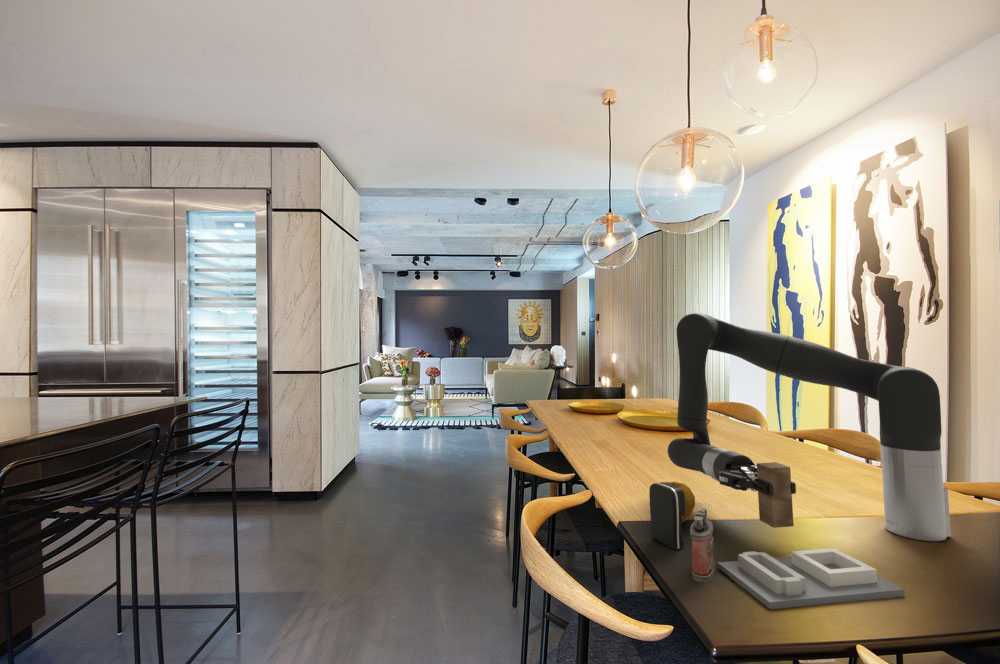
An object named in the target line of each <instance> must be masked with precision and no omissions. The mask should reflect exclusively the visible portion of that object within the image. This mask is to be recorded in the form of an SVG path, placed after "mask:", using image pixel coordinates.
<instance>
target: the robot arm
mask: <svg viewBox="0 0 1000 664" xmlns="http://www.w3.org/2000/svg"><path fill="white" fill-rule="evenodd" d="M676 340H677V341H676V342H677V348H678V349H677V350H678V359H679V362H678V363H679V388H678V389H679V390H678V402H677V415H676V416H677V417H676V419H677V421H676V422H677V423H676V424H677V426H678V427H679V428H681V429H683V430H684V431H688V432H691V433H692V437H693V438H689V437H688V438H685V437H682V438H681V437H680V438H679V437H678V438H674V439H673V440H671V441H670V443H669V444H668V447H667V455H668V458H669V460H670V461H671V462H672V464H673V465H674V466H677V467H678V468H682V469H686V470H690V471H695V472H699V473H702V474H704V475H706V476H708V477H710V478H711V479H713V480H714V481H716V482H718V483H719V485H722V486H724V487H730V488H731V489H734V490H735V491H736V490H738V491H743V492H746V491H748V490H750V491H752V492H758V491H759V492H762V493H764V494H766V495H768V496H772V495H774V491H773V485H772V484H771V483H768V482H766V481H763V480H761V479H757V465H756V464H755V463H754V462H753V459H751V458H750V457H749V456H747V455H745V454H742V453H739V452H736V451H733V450H731V449H726V448H722V447H721V448H720V447H717V446H715V445H711V441H710V436H709V430H708V425H707V423H708V422H707V420H708V419H707V418H708V407H709V406H708V402H709V401H708V400H709V398H708V397H709V395H708V388H707V387H708V386H707V385H708V384H707V381H706V380H707V378H706V364H707V355H708V352H709V350H710V351H715V352H720V353H724V354H727V355H732V356H734V357H737V358H739V359H743V360H744V361H746V362H748V363H749V364H750V363H751V365H755V366H757V367H758V368H761V369H763V370H765V371H768V372H770V373H774V374H777V375H781V376H784V377H787V378H790V379H793V380H797V381H802V382H806V383H811V384H816V385H819V386H820V385H821V386H822V385H823V386H829V387H833V388H839V389H844V390H847V391H850V392H854V393H856V394H860V395H862V396H865V397H868V398H870V399H872V400H875V401H878V413H879V439H880V440H879V443H880V460H881V475H882V490H883V491H882V493H883V494H882V495H883V508H884V509H883V510H884V523H885V526H884V527H885V529H886V530H887V531H888V532H890V533H893V534H895V535H898V536H901V537H904V538H909V539H911V540H912V539H913V540H917V541H925V542H941V541H946V540H947V537H952V535H951V534H952V531H951V530H952V529H951V519H950V517H951V516H950V503H949V490H948V487H946V486H944V477H943V476H944V475H943V464H942V447H941V446H942V445H941V440H942V439H941V438H942V432H943V431H942V413H941V412H942V411H941V395H940V390H939V386H938V384H937V382H936V381H935V379H934V378H933V377H932V376H931V375H929V374H928V373H926V372H924V371H922V370H920V369H917V368H914V367H909V366H899V365H894V364H893V365H892V364H888V363H883V362H882V363H881V362H876V361H872V360H867V359H862V358H857V357H854V356H852V355H848V354H845V353H843V352H842V351H841V352H840V351H839V350H835V349H833V348H830V347H828V346H824V345H822V344H818V343H815V342H812V341H809V340H806V339H802V338H798V337H794V336H790V335H785V334H781V333H776V332H771V331H765V330H757V329H753V328H751V329H750V328H746V327H742V326H739V325H735V324H733V323H729V322H727V321H724V320H721V319H718V318H716V317H713V316H712V315H709V314H707V313H697V312H693V313H688V314H686V315H684V316H683V317H682V318H681V319H680V320H679V321H678V323H677V326H676ZM796 493H797V485H796V482H794V481H792V480H791V494H792V495H795V494H796Z"/></svg>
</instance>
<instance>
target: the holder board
mask: <svg viewBox="0 0 1000 664" xmlns="http://www.w3.org/2000/svg"><path fill="white" fill-rule="evenodd" d="M737 557H738V558H737V560H732V561H719V562H717V569H718V568H719V569H718V570H720V569H721V570H722V571H723V572H725V573H726V574H727V575H728V576H729V577H728V576H727V575H726V574H725V573H724V574H725V575H726V576H727V577H728V578H730V579H731V580H732V581H734V582H735V583H736V584H737V585H738V586H740V587H741V588H742V589H743V590H745V591H746V592H747V593H749V594H750V595H751V596H753V597H754V598H755V599H756V600H758V602H760V603H761V604H763V606H766V607H767V609H769V610H774V609H775V610H777V609H787V608H797V607H799V608H800V607H808V606H809V607H810V606H816V605H817V606H819V605H829V604H830V605H831V604H837V603H839V604H840V603H849V602H851V603H852V602H860V601H861V602H862V601H869V600H870V601H871V600H880V599H891V598H899V597H900V598H902V597H905V589H904V588H902V587H900V586H898V585H896V584H895V583H893V582H890V581H888V580H887V579H884V578H882V577H880V576H879V575H877V574H878V573H877V569H876V568H874V567H872V566H871V565H868V564H866V563H865V562H862V561H860V560H858V559H856V558H854V557H852V556H850V555H848V554H847V553H844V552H842V551H841V550H838V549H836V548H834V547H833V548H822V549H821V548H820V549H808V550H807V549H806V550H797V551H791V556H781V557H780V556H779V557H773V556H771V555H769V554H768V553H766V552H765V551H764V552H763V551H762V552H761V551H760V552H757V551H756V550H755V551H743V552H742V553H738V554H737ZM721 570H720V571H721ZM722 571H721V572H722ZM723 572H722V573H723Z"/></svg>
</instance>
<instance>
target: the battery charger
mask: <svg viewBox="0 0 1000 664" xmlns="http://www.w3.org/2000/svg"><path fill="white" fill-rule="evenodd" d="M665 482H666V481H661V482H653V483H652V484H651V485H650V486H649V494H648V495H649V510H650V511H649V514H650V529H651V532H650V533H651V535H650V537H651V538H652V539H653V540H655V541H656V542H658V543H661V544H662V545H665V546H666V547H669V548H670V549H673V550H679V549H681V548H684V547H685V542H684V540H683V537H682V523H681V520H682V516H683V515H686V500H685V494H684V491H683V490H682V489H681V488H679V487H677V486H675V485H672V484H669V483H665Z"/></svg>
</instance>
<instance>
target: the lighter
mask: <svg viewBox="0 0 1000 664" xmlns="http://www.w3.org/2000/svg"><path fill="white" fill-rule="evenodd" d="M707 518H708V509H707V508H706V507H700V508H699V510H698V511H695V513H694V517H693V519H694V522H692V523H691V525H690V528H689V533H690V534H689V535H690V538H691V553H692V565H691V578H692V579H693V580H695V581H697V582H700V583H701V582H702V583H707V582H709V581H710V580H711V579H712V578H713V576H714V575H715V571H714V570H716V569H715V567H716V566H715V560H714V551H713V550H714V546H715V545H714V544H715V543H714V536H713V532H714V525H713V522H712V521H711V520H708V519H707Z"/></svg>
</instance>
